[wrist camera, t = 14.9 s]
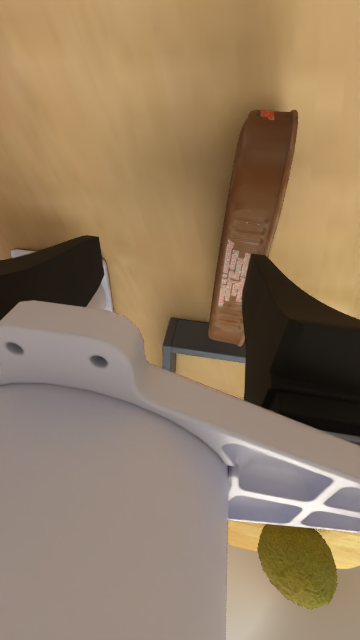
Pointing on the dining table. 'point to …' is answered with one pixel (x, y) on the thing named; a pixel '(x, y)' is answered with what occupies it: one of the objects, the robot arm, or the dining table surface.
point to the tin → (251, 212)
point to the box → (196, 344)
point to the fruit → (298, 564)
